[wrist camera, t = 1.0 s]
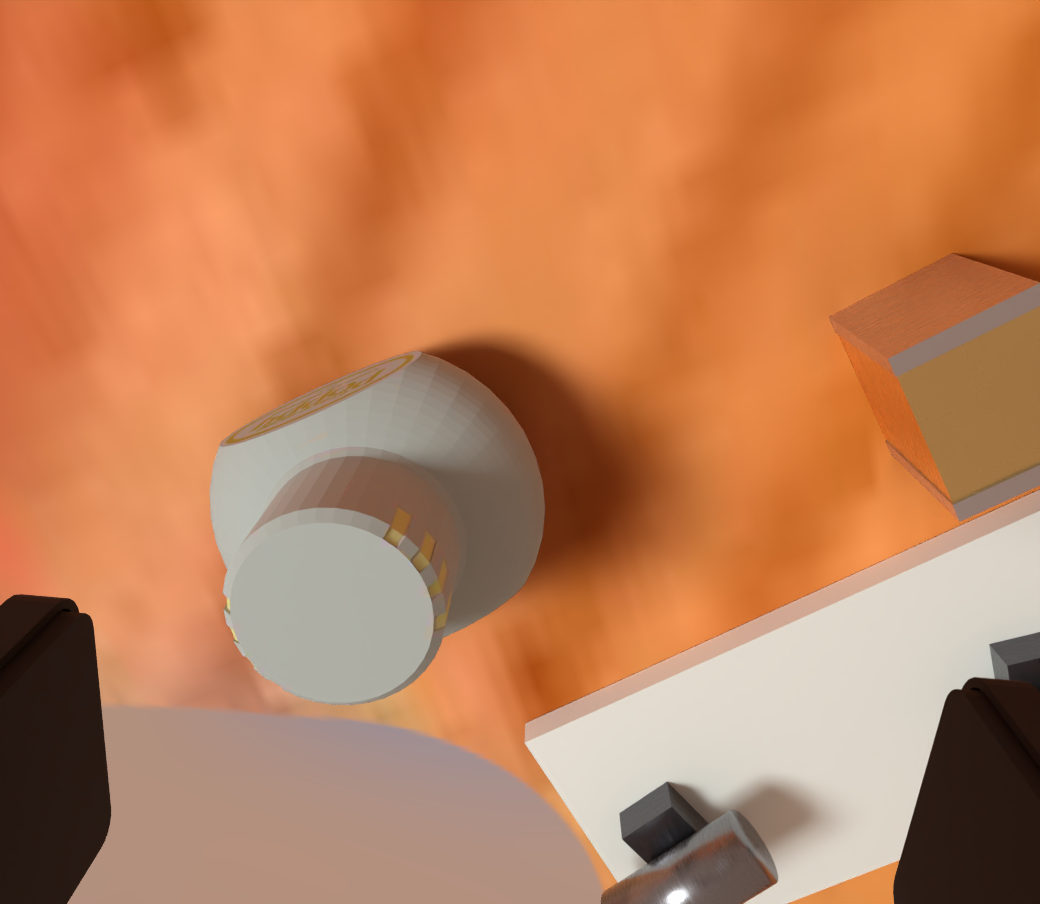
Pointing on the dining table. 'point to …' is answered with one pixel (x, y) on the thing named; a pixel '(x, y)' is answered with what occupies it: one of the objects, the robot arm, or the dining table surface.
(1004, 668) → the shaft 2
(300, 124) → the dining table surface
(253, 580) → the air freshener
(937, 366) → the tan box
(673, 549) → the dining table surface
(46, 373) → the dining table surface
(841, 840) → the board
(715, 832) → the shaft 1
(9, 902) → the robot arm
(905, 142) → the dining table surface
